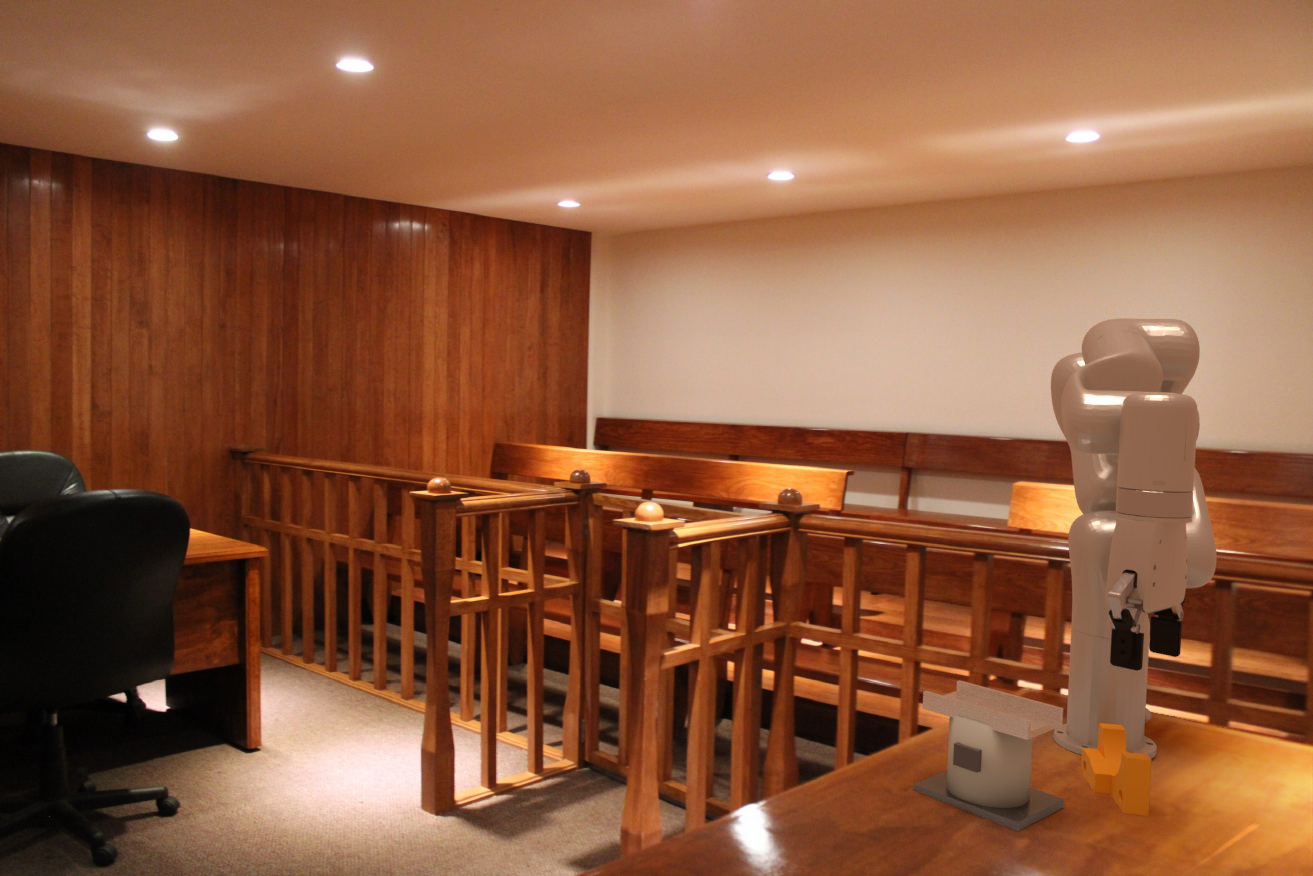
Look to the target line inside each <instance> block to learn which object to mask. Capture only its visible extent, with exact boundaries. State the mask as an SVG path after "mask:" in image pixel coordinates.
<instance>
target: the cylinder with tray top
mask: <svg viewBox="0 0 1313 876" xmlns="http://www.w3.org/2000/svg"><path fill="white" fill-rule="evenodd" d="M922 709H924V710H927V711H929V712H933V713H936V714H938V715H943V716H946V717H949V718H948V719H949V722H948V747H947V769H946V770H945V771H942V772H940V773H937V774H935V775H932V776H930V777H928V778H925V779H922V780H920V781H917V782H915V783H913V785H912V787H913V788H912V790H913V791H915V792H918V793H920V794H922V795H925V796H928V797H930V798H933V799H935V800H938V801H939V802H942V803H945V804H948V805H950V804H951V805H950V806H953V807H955V806H956V807H955V808H958V809H960V810H962V809H963V811H964V812H967V811H968V813H970V812H971V813H970V814H972V813H973V814H972V815H975V816H977V815H978V816H977V817H980V818H983V819H985V820H987V821H989V822H993V823H995V824H997V825H1000V826H1002V827H1004V828H1007V829H1010V830H1013V831H1015V832H1020V831H1021V830H1023V829H1026V828H1027V827H1029V826H1032V825H1033V824H1035V823H1036V822H1038V821H1040V820H1043V819H1045V818H1047V817H1049V816H1051V815H1052V814H1054V813H1056V812H1058V811H1060V810H1062V809H1064V802H1065V799H1064V798H1062V797H1059V796H1056V795H1053V794H1050V793H1047V792H1044V791H1041V790H1039V789H1036V788H1033V787H1031V780H1032V779H1031V778H1032V759H1033V758H1032V756H1033V740H1034V739H1033V738H1036V737H1039V736H1042V735H1043V734H1046V733H1048V732H1051V731H1054V730H1055V729H1056V728H1058V727H1061V726H1062V725H1063V724H1064V723H1063V722H1064V721H1063V720H1064V718H1063V717H1064V707H1062V706H1061V707H1060V706H1056V705H1054V704H1049V703H1046V702H1043V701H1039V700H1038V701H1037V700H1035V699H1032V698H1031V699H1030V698H1028V697H1023V696H1020V695H1015V694H1012V693H1009V692H1004V691H1001V690H997V689H994V688H989V687H986V686H981V685H978V684H975V683H971V682H967V681H963V680H957V681H956V690H955V691H953V692H949V693H946V694H940V693H936V692H932V691H929V690H924V691H923V692H922Z"/></svg>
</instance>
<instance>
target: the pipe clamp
mask: <svg viewBox="0 0 1313 876" xmlns="http://www.w3.org/2000/svg"><path fill="white" fill-rule="evenodd" d="M1152 761H1153V760H1152V759H1150V758H1149V756H1148V755H1147V754H1142V753H1130V752H1126V730H1125V729H1124V728H1123V726H1122V725H1116V724H1104V723H1099V730H1098V749H1092V748H1082V755H1081V766H1080V767H1081V768H1080V773H1081V774H1082V776H1083V777H1084V779H1085V781H1086V782H1087V784H1088V785H1089V786H1090V789H1091V790H1092V791H1093V793H1095V794H1097V793H1098V794H1108V795H1110V796H1111V797H1112V799H1113V800H1114V801H1115V803H1116V804H1117V806H1118V808H1119V809H1120V811H1121V812H1122V813H1123V814H1124V815H1126V814H1127V815H1134V816H1135V815H1137V816H1145V817H1147V816H1149V815H1150V814H1149V810H1150V797H1151V796H1150V793H1151V780H1152V779H1151V777H1152V775H1151V774H1152Z"/></svg>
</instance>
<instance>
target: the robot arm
mask: <svg viewBox="0 0 1313 876" xmlns="http://www.w3.org/2000/svg"><path fill="white" fill-rule="evenodd" d="M1200 351H1201V349H1200V341H1199V337H1198V335H1197V332H1196V331H1195V329H1194V328H1193V327H1192V326H1191V325H1190V324H1189V323H1188V322H1186V321H1184V320H1181V319H1175V318H1113V319H1105V320H1103V321H1101V322H1098V323H1096V324H1095V325H1092V327H1091V328H1089V330H1088V331H1087V332H1086V333H1085V334H1084V337H1083V339H1082V342H1081V352H1077V353H1073V354H1069V355H1066V356H1065V357H1063V358H1061V359H1060V360H1058V361H1057V362H1056V364H1055V365H1054V367H1053V370H1052V371H1051V376H1050V394H1051V395H1050V397H1051V403H1052V409H1053V413H1054V416H1055V419H1056V422H1057V424H1058V426H1059V429H1060V431H1061V433H1062V434H1063V437H1064V438H1065V440H1066V441H1067V444H1068V446H1069V450H1070V456H1071V465H1072V468H1071V469H1072V479H1073V488H1074V494H1075V500H1076V504H1077V505H1078V506H1077V507H1078V509H1079V510H1080V512H1081V513H1082V514H1081V515H1080V516H1078V517H1076V518H1075V520H1074V521H1073V522H1072V523H1071V526H1070V528H1069V531H1068V538H1067V539H1068V541H1067V542H1068V552H1069V553H1068V555H1069V563H1070V565H1069V566H1070V571H1071V572H1070V573H1071V589H1072V591H1071V592H1072V596H1071V597H1072V600H1071V601H1072V603H1071V604H1072V605H1071V607H1072V608H1071V624H1070V625H1071V627H1070V628H1071V629H1070V647H1069V664H1068V665H1069V669H1068V689H1067V705H1066V706H1067V708H1066V723H1062V726H1061V727H1058V728H1056V729H1053V739H1054V742H1056V744H1057V745H1059V746H1060V747H1062V748H1063V749H1065V750H1066V751H1068V752H1072V753H1074V754H1076V755H1078V756H1082V748H1092V749H1098V730H1099V723H1104V724H1116V725H1122V726H1123V728H1124V729H1125V730H1126V752H1130V753H1142V754H1147V755H1148V756H1149V758H1150V759H1151V760H1152V759H1154V758H1155V757H1156V756H1157V750H1158V749H1157V748H1158V747H1157V744H1156V743H1155V742H1154V740H1152V739H1151V738H1149V737H1148V736H1146V735H1145V730H1146V728H1145V724H1146V723H1147V722H1150V720H1151V719H1152V712H1151V711H1150V710H1149V709H1148V708H1146V707H1147V690H1148V688H1147V687H1148V673H1149V670H1148V669H1149V655H1150V653H1149V651H1150V652H1151V653H1155V654H1159V655H1163V656H1164V655H1165V656H1168V657H1173V658H1177V657H1179V656H1180V655H1181V647H1182V630H1183V629H1182V627H1183V618H1184V610H1183V606H1184V604H1185V603H1186V597H1185V596H1186V589H1196V588H1197V589H1198V588H1201V587H1203V586H1205V585H1206V584H1208V583H1209V582H1210V581H1211V580H1212V578H1213V577H1214V575H1215V572H1216V568H1217V556H1218V555H1217V547H1216V546H1217V545H1216V540H1215V535H1214V530H1213V526H1212V521H1211V517H1210V512H1209V508H1208V504H1207V503H1208V502H1207V500H1206V494H1205V489H1204V486H1203V482H1202V479H1201V476H1200V473H1199V472H1198V470H1197V469H1196V449H1197V441H1198V438H1199V433H1200V424H1201V423H1200V414H1199V409H1198V405H1197V402H1196V400H1195V398H1193V397H1192V396H1191V395H1188V394H1183V393H1184V392H1185V390H1186V388H1187V387H1188V386H1189V384H1190V382H1191V381H1192V379H1193V377H1194V376H1195V373H1196V371H1197V369H1198V366H1199V361H1200V358H1201V357H1200V355H1201V352H1200ZM1148 614H1154V616H1153V615H1151V616H1150V618H1149V615H1148Z"/></svg>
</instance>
